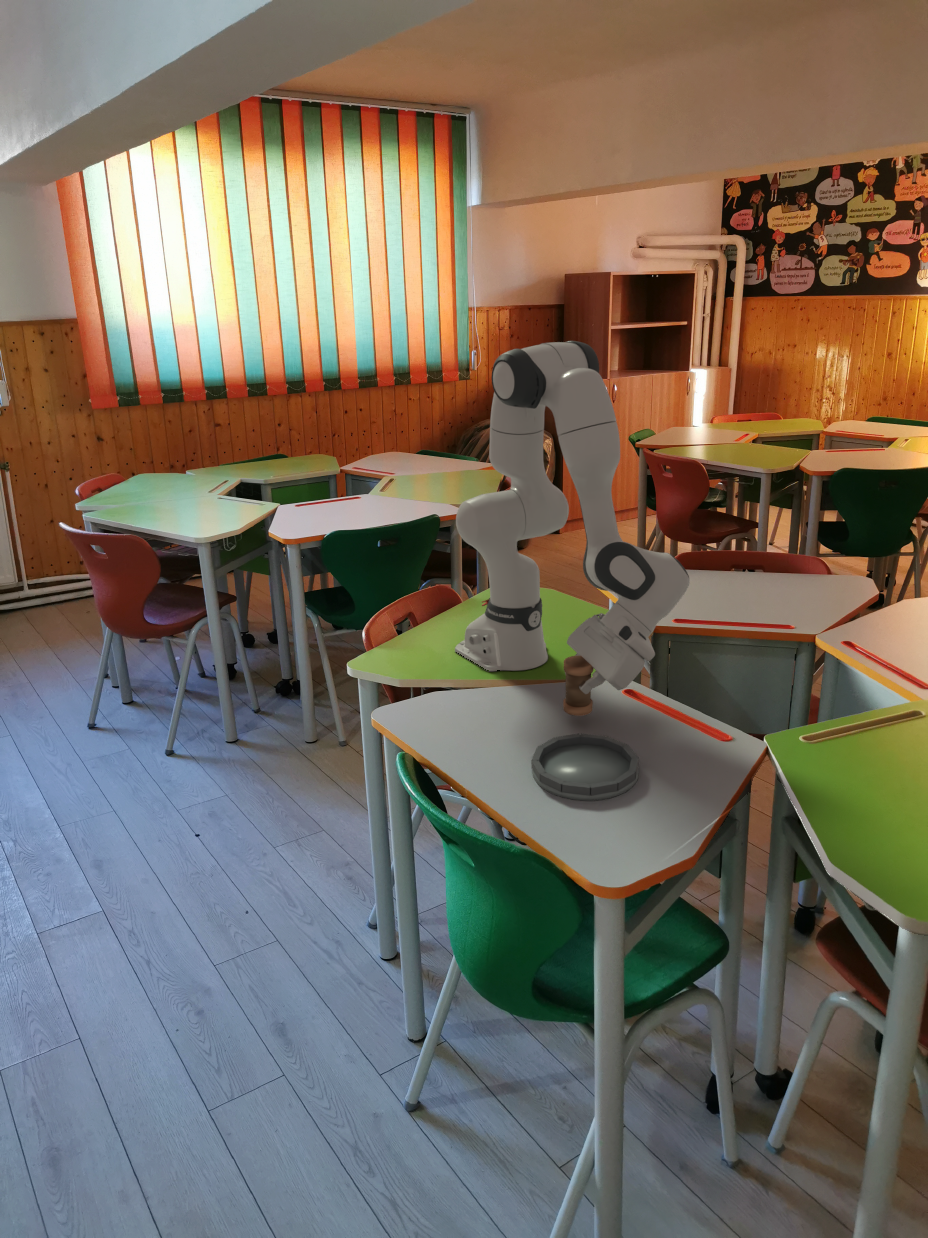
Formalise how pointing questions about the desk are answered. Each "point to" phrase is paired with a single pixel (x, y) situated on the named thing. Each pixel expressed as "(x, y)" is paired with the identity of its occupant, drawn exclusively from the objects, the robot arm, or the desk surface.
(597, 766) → the round dish
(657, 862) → the desk surface
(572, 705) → the brown flared cylinder
